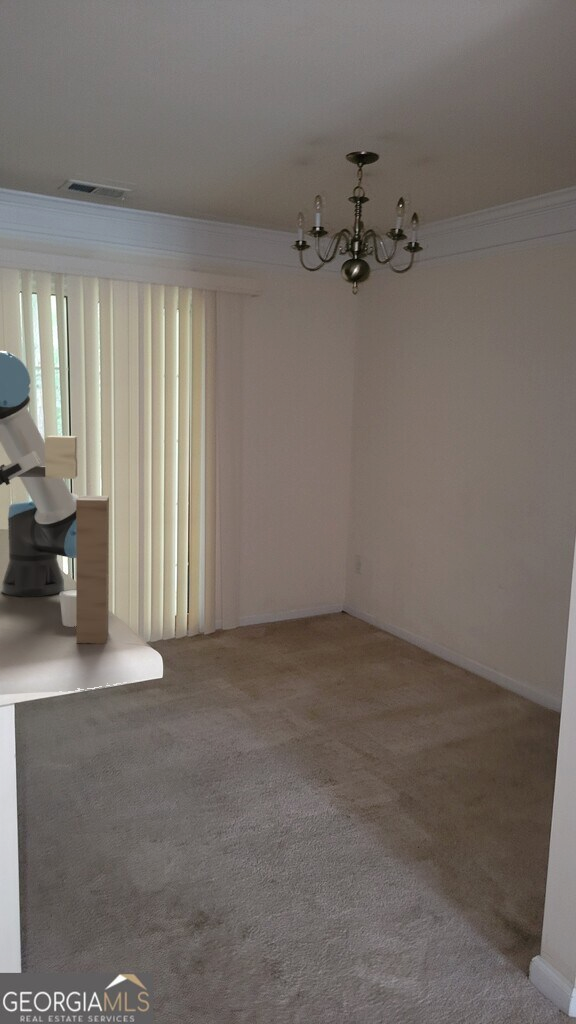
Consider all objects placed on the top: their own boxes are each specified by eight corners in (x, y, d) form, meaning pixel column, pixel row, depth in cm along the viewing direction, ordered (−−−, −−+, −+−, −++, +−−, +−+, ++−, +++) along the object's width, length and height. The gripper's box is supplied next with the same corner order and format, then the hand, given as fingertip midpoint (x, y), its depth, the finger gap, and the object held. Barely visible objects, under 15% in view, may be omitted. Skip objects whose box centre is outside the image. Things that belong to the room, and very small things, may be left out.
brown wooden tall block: (80, 632, 162) (80, 495, 158) (108, 632, 163) (108, 495, 159) (76, 643, 154) (76, 500, 150) (106, 643, 155) (106, 500, 151)
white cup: (59, 628, 164) (59, 596, 163) (59, 619, 171) (59, 589, 170) (92, 627, 166) (92, 595, 165) (91, 618, 173) (91, 588, 172)
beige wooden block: (4, 474, 154) (3, 434, 153) (77, 475, 157) (77, 436, 156) (-3, 477, 147) (-4, 435, 146) (74, 478, 150) (74, 437, 149)
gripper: (-52, 526, 157) (51, 471, 160) (-72, 538, 143) (41, 477, 145) (-72, 494, 156) (32, 439, 158) (-95, 503, 141) (20, 442, 143)
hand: (36, 457), depth 152 cm, fingers closed on beige wooden block, 2 cm apart
